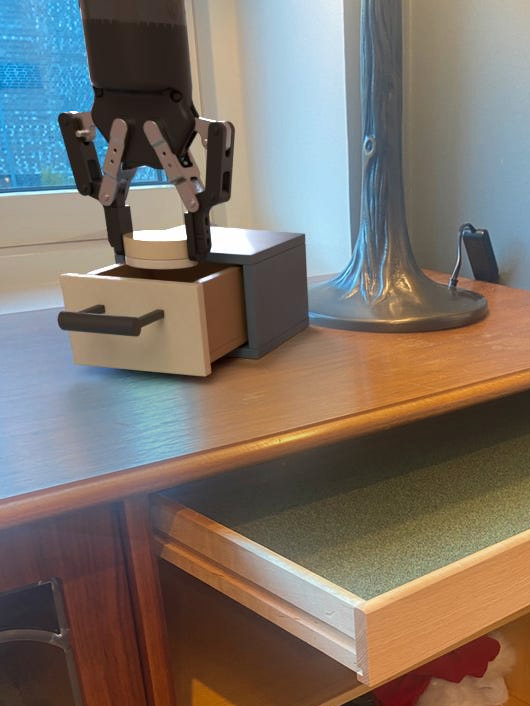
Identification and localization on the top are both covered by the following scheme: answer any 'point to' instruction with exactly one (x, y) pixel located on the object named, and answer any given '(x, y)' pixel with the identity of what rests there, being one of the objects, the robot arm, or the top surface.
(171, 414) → the top surface
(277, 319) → the cabinet
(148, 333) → the drawer
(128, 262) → the cream short cylinder
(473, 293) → the top surface
